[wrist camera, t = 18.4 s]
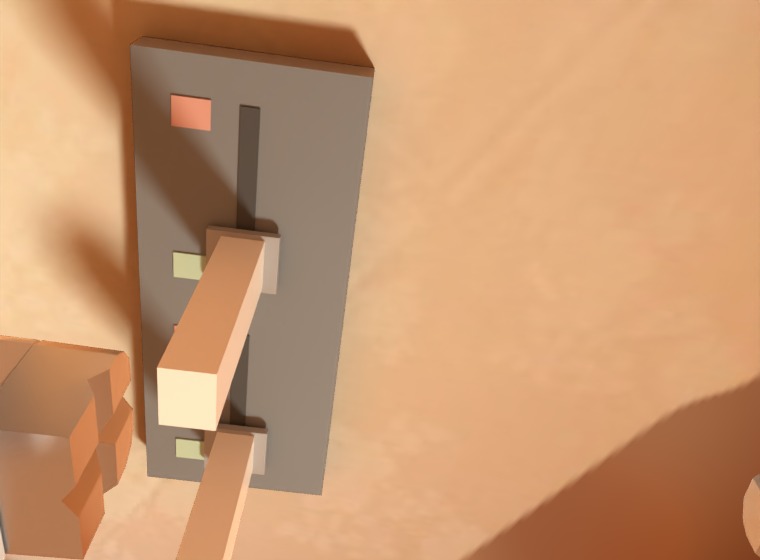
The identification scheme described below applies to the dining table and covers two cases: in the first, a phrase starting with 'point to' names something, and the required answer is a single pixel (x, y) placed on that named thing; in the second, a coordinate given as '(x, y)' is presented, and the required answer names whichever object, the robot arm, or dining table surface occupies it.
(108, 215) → the dining table surface
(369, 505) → the dining table surface
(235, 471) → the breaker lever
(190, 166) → the breaker panel
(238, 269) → the breaker lever
